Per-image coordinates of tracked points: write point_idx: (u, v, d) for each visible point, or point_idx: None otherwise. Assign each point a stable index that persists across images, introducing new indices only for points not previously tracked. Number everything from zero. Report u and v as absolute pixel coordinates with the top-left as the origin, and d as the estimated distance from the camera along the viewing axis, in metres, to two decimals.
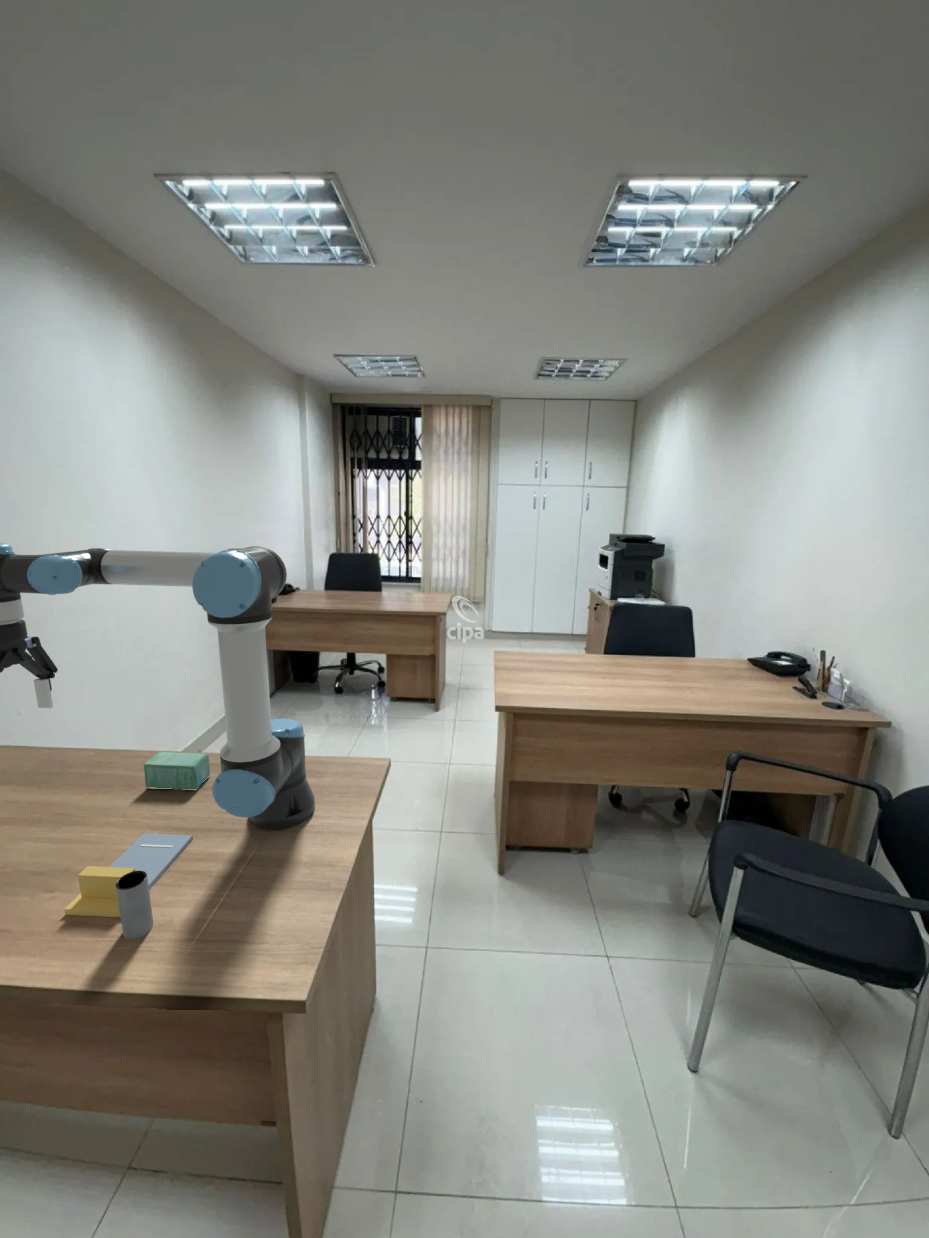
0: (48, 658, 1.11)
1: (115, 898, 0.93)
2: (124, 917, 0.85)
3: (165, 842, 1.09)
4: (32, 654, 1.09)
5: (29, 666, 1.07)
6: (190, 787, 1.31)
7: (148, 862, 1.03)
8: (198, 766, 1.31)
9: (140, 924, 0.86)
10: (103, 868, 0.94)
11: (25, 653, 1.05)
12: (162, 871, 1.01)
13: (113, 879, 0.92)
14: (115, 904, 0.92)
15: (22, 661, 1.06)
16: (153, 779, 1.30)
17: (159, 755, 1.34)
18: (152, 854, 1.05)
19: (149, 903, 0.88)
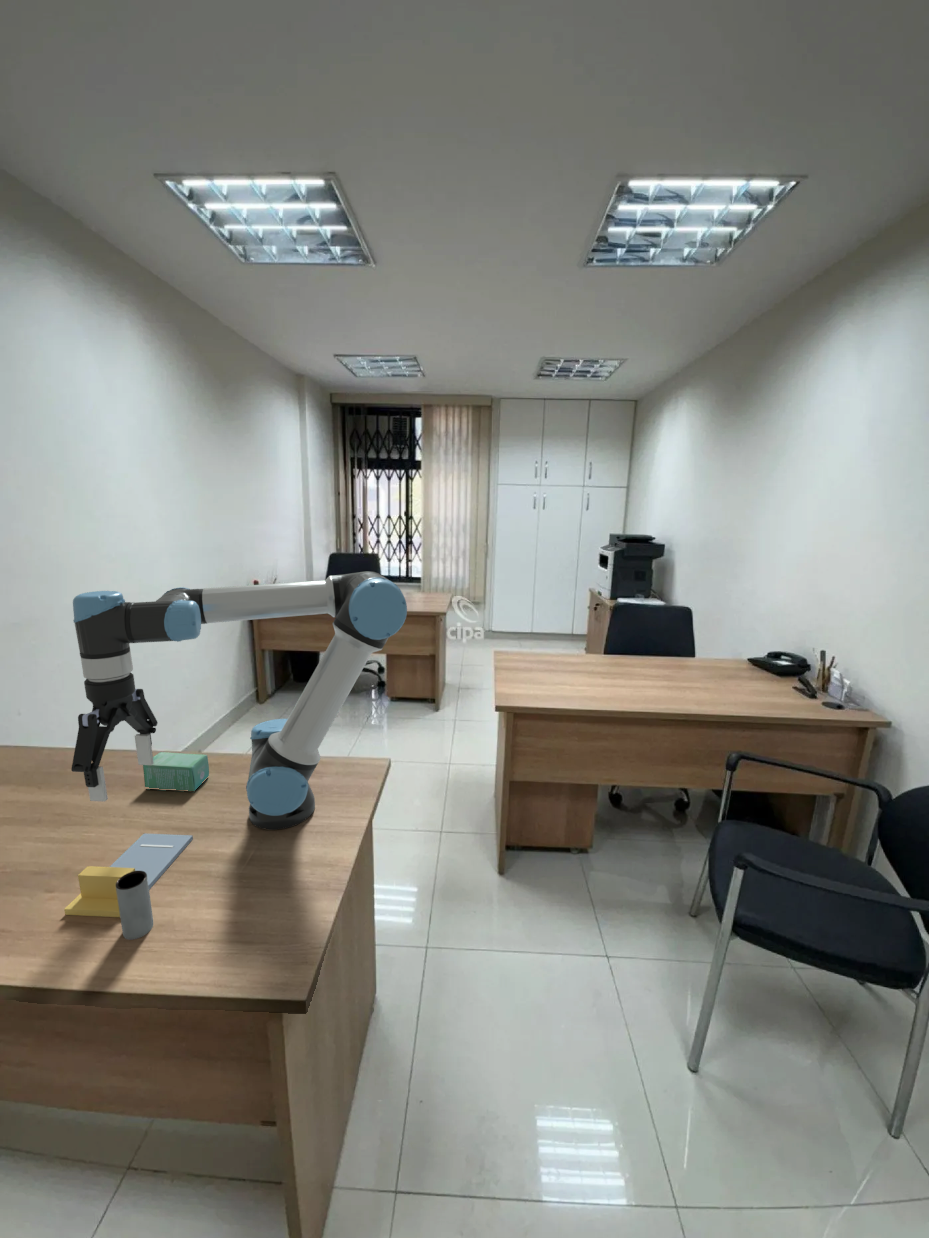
0: (150, 711, 1.03)
1: (115, 898, 0.93)
2: (124, 917, 0.85)
3: (165, 842, 1.09)
4: (134, 707, 1.01)
5: (133, 722, 0.99)
6: (188, 788, 1.30)
7: (148, 862, 1.03)
8: (196, 768, 1.30)
9: (140, 924, 0.86)
10: (103, 868, 0.94)
11: (132, 708, 0.97)
12: (162, 871, 1.01)
13: (113, 879, 0.92)
14: (115, 904, 0.92)
15: (127, 716, 0.98)
16: (151, 780, 1.30)
17: (159, 755, 1.34)
18: (152, 854, 1.05)
19: (149, 903, 0.88)
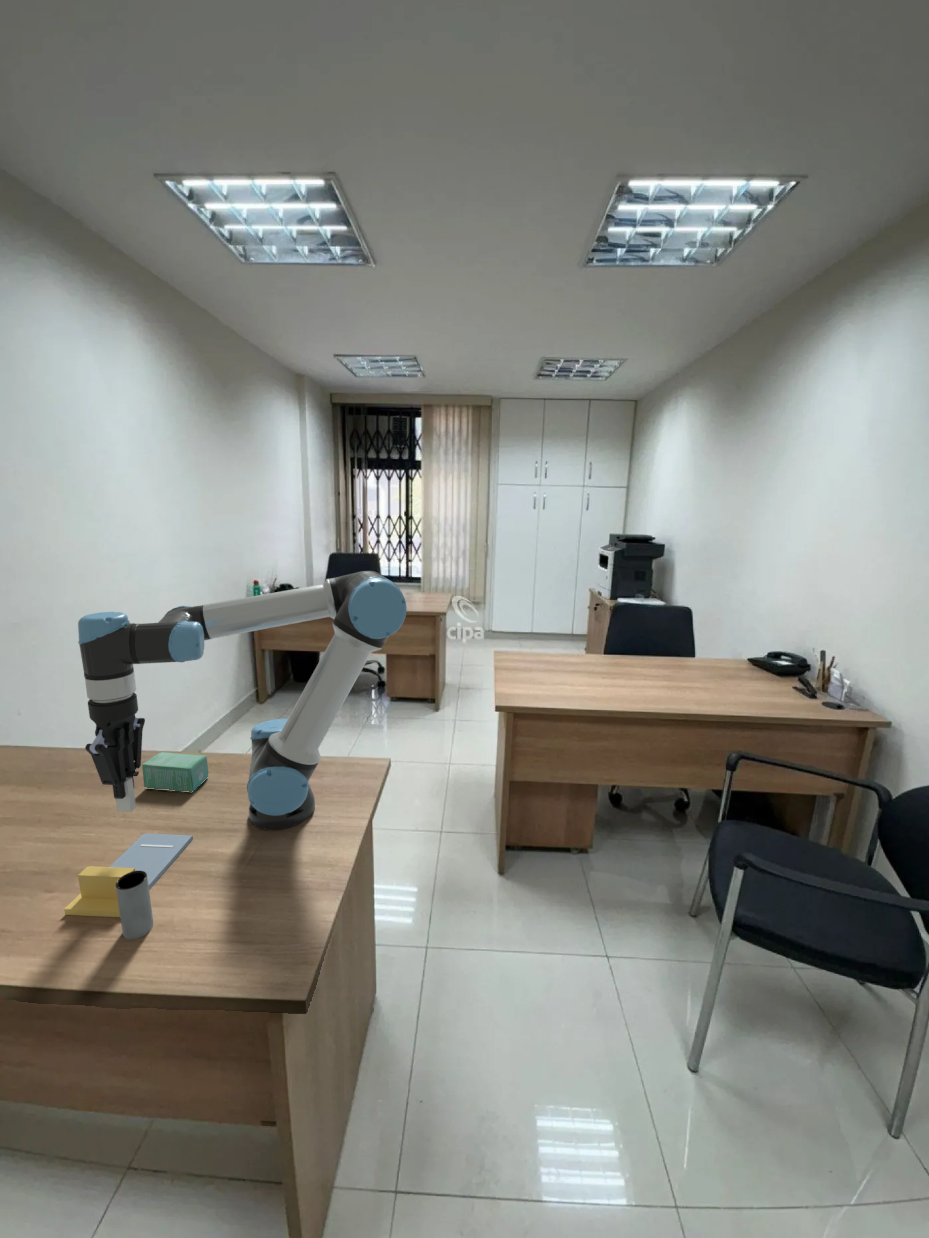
0: (140, 747, 1.00)
1: (115, 898, 0.93)
2: (124, 917, 0.85)
3: (165, 842, 1.09)
4: None
5: (123, 752, 0.97)
6: (186, 789, 1.30)
7: (148, 862, 1.03)
8: (194, 768, 1.30)
9: (140, 924, 0.86)
10: (103, 868, 0.94)
11: (131, 732, 0.97)
12: (162, 871, 1.01)
13: (113, 879, 0.92)
14: (115, 904, 0.92)
15: None
16: (151, 780, 1.30)
17: (159, 755, 1.34)
18: (152, 854, 1.05)
19: (149, 903, 0.88)
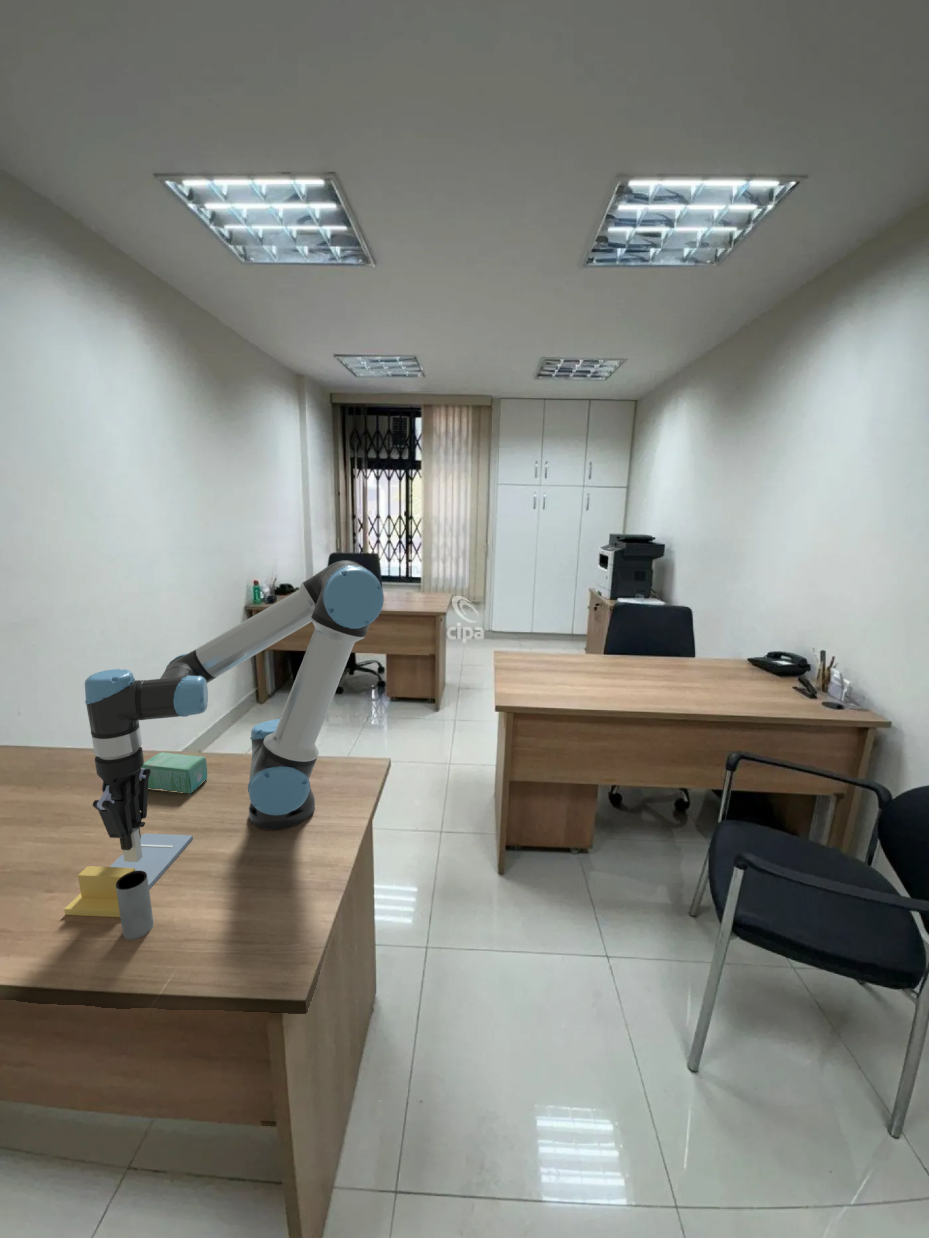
0: (146, 798, 1.02)
1: (115, 898, 0.93)
2: (124, 917, 0.85)
3: (165, 842, 1.09)
4: None
5: (129, 805, 0.99)
6: (184, 790, 1.29)
7: (148, 862, 1.03)
8: (193, 770, 1.29)
9: (140, 924, 0.86)
10: (103, 868, 0.94)
11: (137, 784, 0.99)
12: (162, 871, 1.01)
13: (113, 879, 0.92)
14: (115, 904, 0.92)
15: None
16: (149, 780, 1.30)
17: (158, 756, 1.34)
18: (152, 854, 1.05)
19: (149, 903, 0.88)
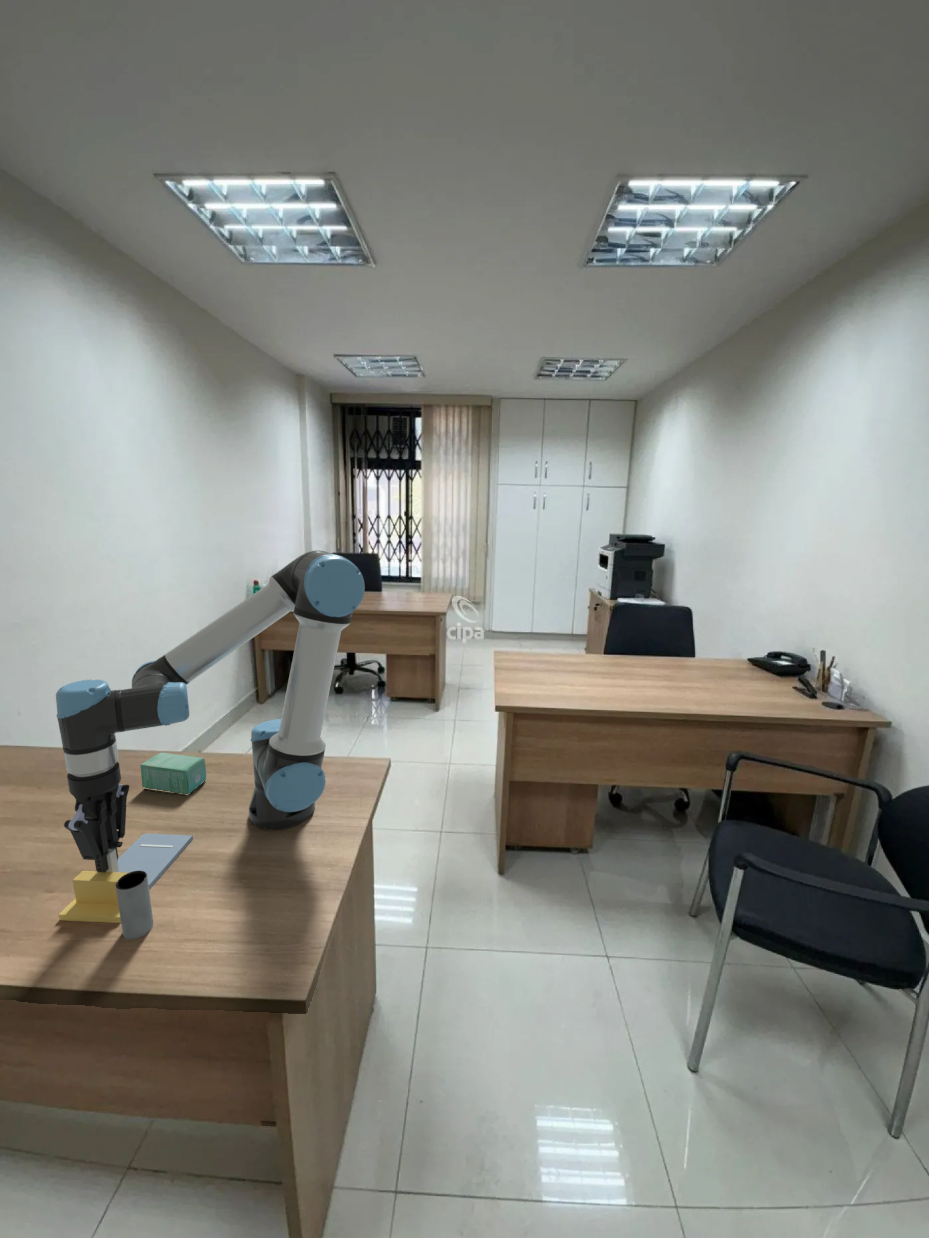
0: (124, 816, 0.96)
1: (110, 903, 0.92)
2: (124, 917, 0.85)
3: (165, 842, 1.09)
4: None
5: (106, 824, 0.93)
6: (182, 791, 1.29)
7: (148, 862, 1.03)
8: (190, 771, 1.29)
9: (140, 924, 0.86)
10: (98, 873, 0.93)
11: (114, 802, 0.93)
12: (162, 871, 1.01)
13: (108, 884, 0.91)
14: (110, 909, 0.91)
15: None
16: (148, 780, 1.30)
17: (158, 756, 1.33)
18: (152, 854, 1.05)
19: (149, 903, 0.88)
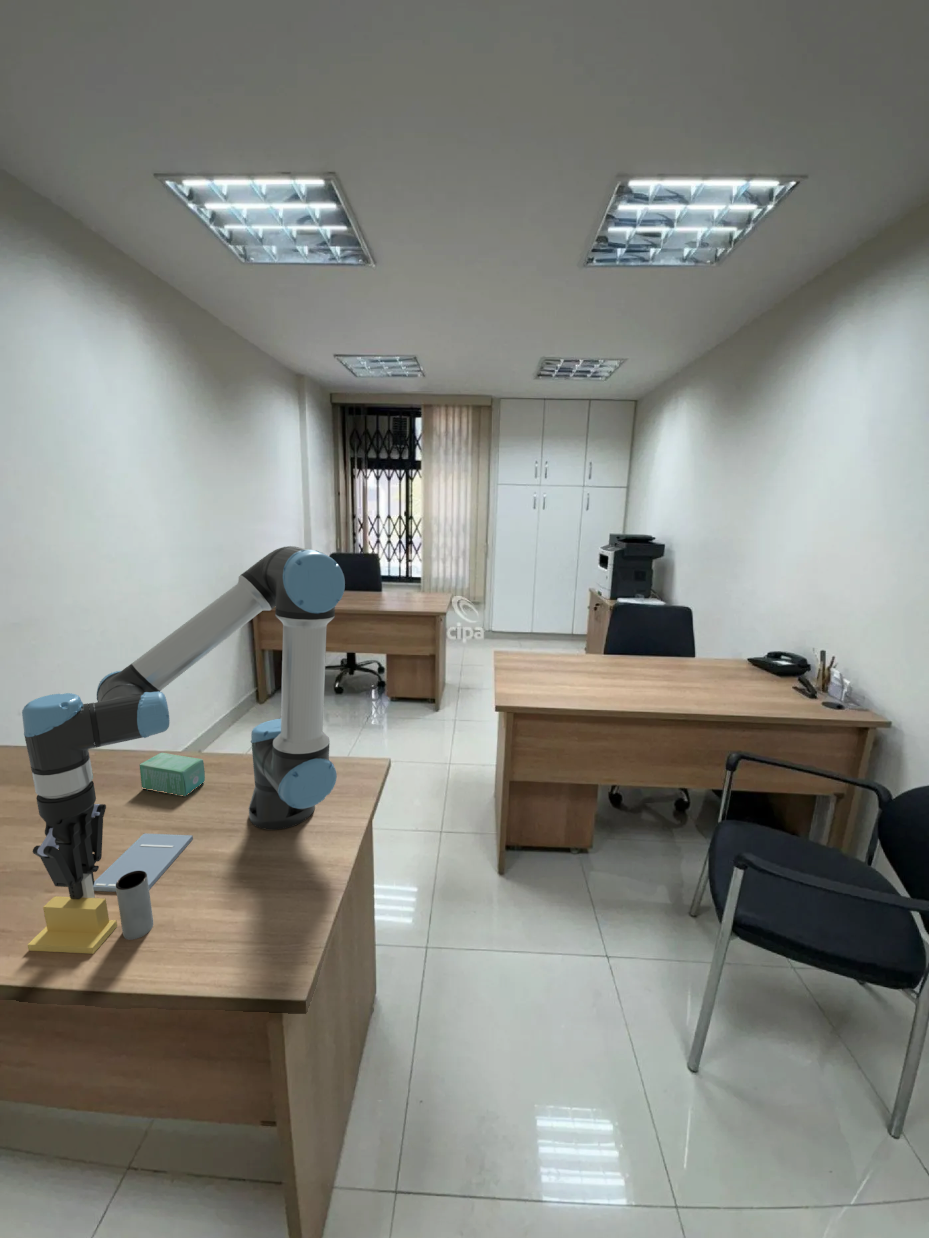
0: (100, 838, 0.90)
1: (84, 932, 0.86)
2: (124, 917, 0.85)
3: (165, 842, 1.09)
4: None
5: (80, 847, 0.87)
6: (180, 792, 1.28)
7: (148, 862, 1.03)
8: (188, 772, 1.28)
9: (140, 924, 0.86)
10: (71, 899, 0.87)
11: (89, 824, 0.86)
12: (162, 871, 1.01)
13: (81, 911, 0.85)
14: (83, 939, 0.85)
15: None
16: (147, 781, 1.29)
17: (158, 756, 1.33)
18: (152, 854, 1.05)
19: (149, 903, 0.88)
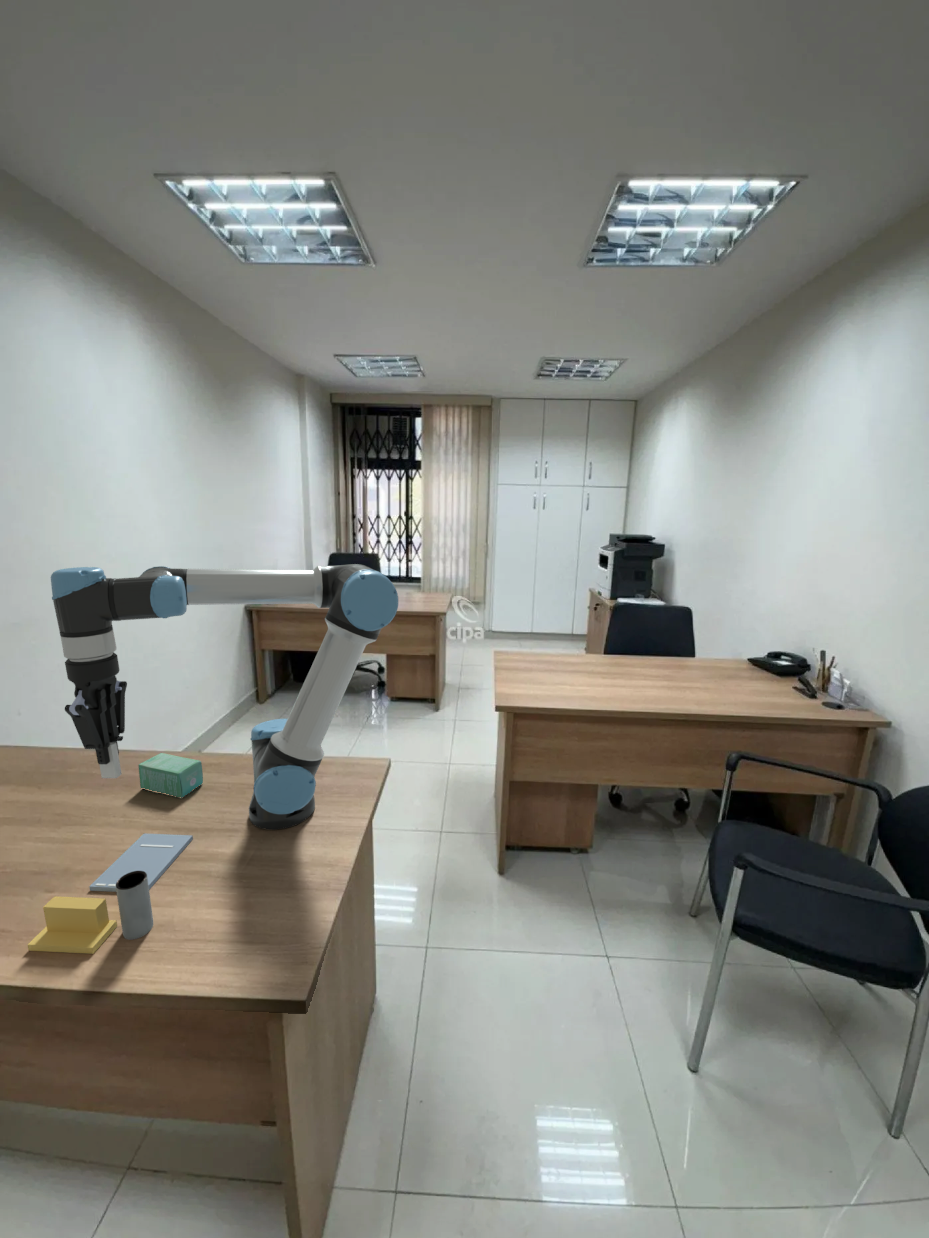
0: (123, 712, 0.96)
1: (84, 932, 0.86)
2: (124, 917, 0.85)
3: (165, 842, 1.09)
4: None
5: (105, 716, 0.92)
6: (176, 794, 1.27)
7: (148, 862, 1.03)
8: (185, 774, 1.27)
9: (140, 924, 0.86)
10: (71, 899, 0.87)
11: (113, 694, 0.92)
12: (162, 871, 1.01)
13: (81, 911, 0.85)
14: (83, 939, 0.85)
15: None
16: (145, 781, 1.29)
17: (157, 756, 1.33)
18: (152, 854, 1.05)
19: (149, 903, 0.88)
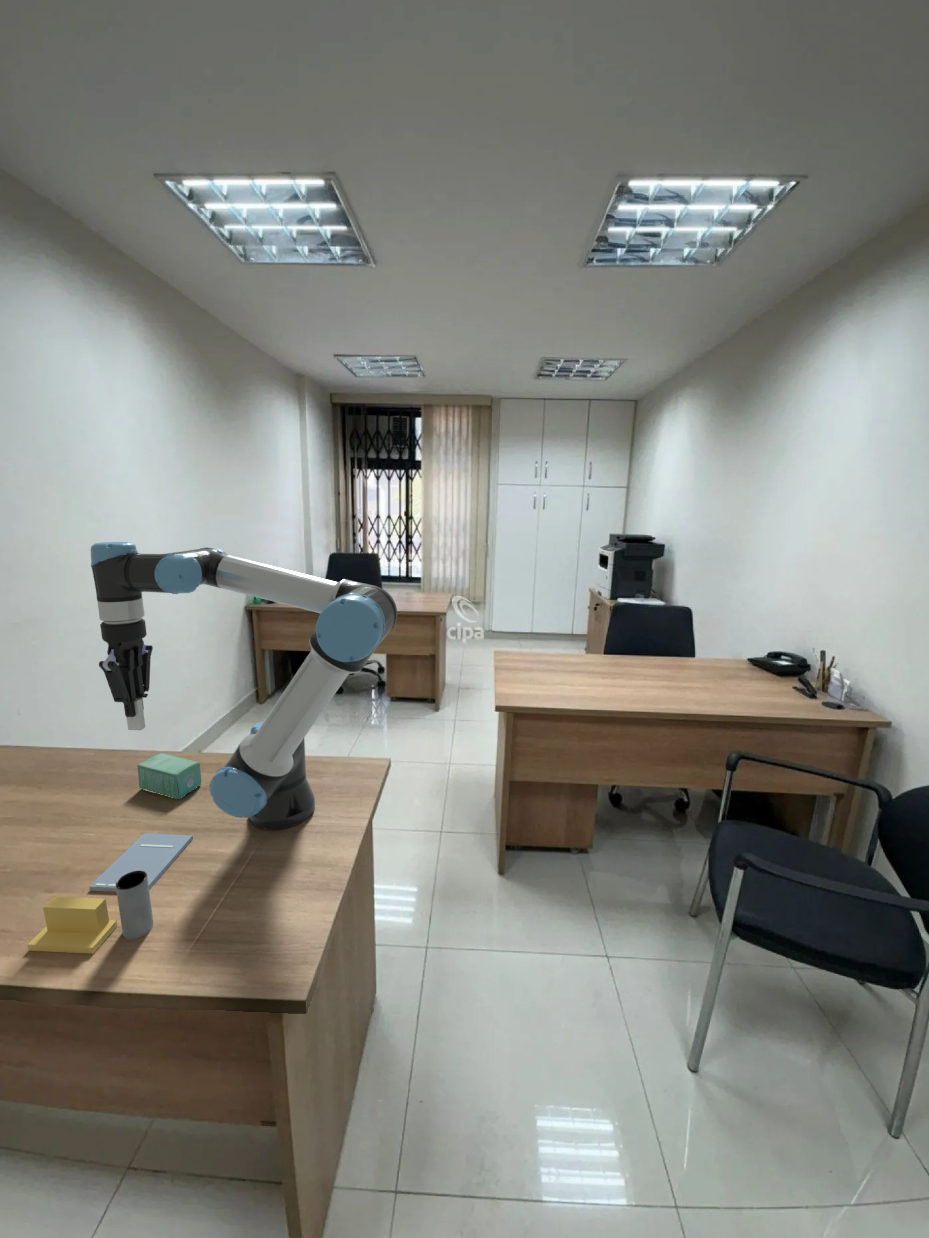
0: (148, 672, 1.08)
1: (84, 932, 0.86)
2: (124, 917, 0.85)
3: (165, 842, 1.09)
4: None
5: (133, 674, 1.04)
6: (173, 795, 1.27)
7: (148, 862, 1.03)
8: (182, 775, 1.27)
9: (140, 924, 0.86)
10: (71, 899, 0.87)
11: (140, 655, 1.04)
12: (162, 871, 1.01)
13: (81, 911, 0.85)
14: (83, 939, 0.85)
15: None
16: (144, 781, 1.29)
17: (157, 757, 1.33)
18: (152, 854, 1.05)
19: (149, 903, 0.88)
